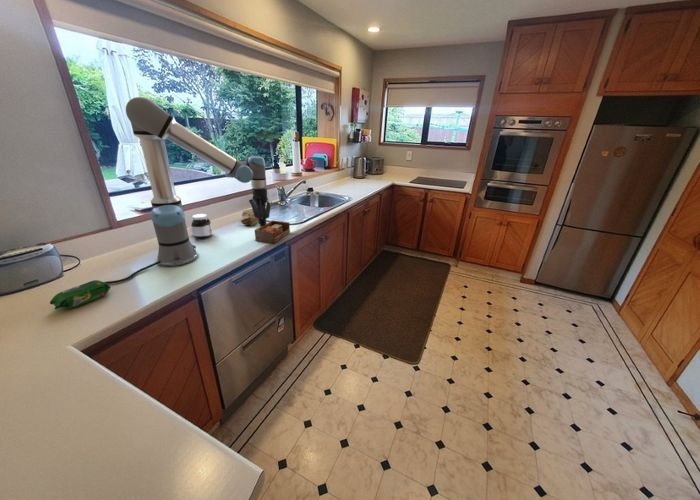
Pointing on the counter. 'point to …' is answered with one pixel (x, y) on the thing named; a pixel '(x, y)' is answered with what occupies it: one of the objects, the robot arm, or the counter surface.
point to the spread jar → (201, 226)
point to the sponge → (249, 217)
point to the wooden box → (272, 231)
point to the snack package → (80, 294)
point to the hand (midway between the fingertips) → (263, 229)
